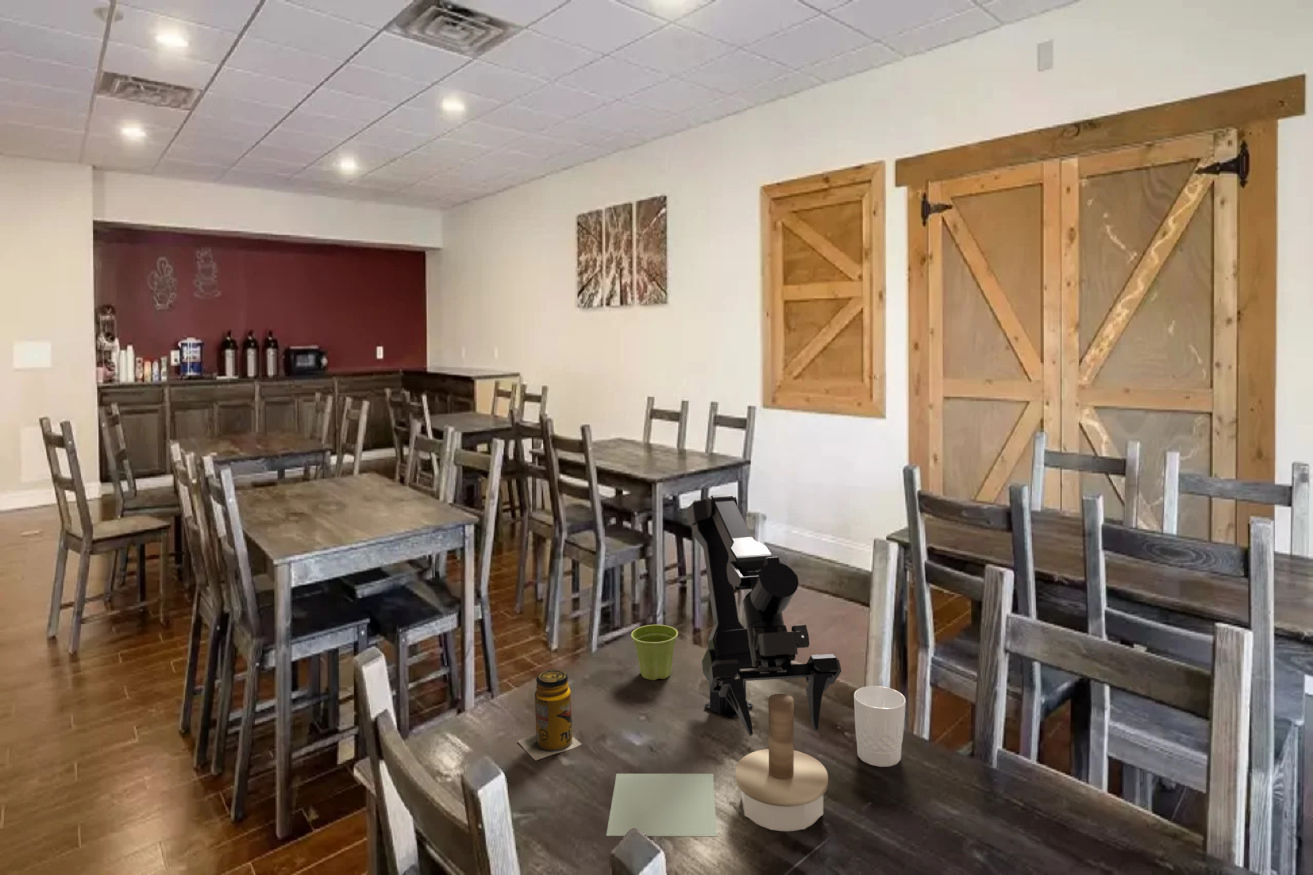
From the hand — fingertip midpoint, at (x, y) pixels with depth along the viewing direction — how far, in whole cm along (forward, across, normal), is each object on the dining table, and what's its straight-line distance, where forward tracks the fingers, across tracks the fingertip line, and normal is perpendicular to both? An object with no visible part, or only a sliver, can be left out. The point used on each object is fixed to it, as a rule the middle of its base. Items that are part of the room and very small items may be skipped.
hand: (783, 732), depth 107 cm
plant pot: (-25, -14, +43) cm, 52 cm away
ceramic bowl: (+8, 0, +10) cm, 12 cm away
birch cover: (+4, 0, +6) cm, 8 cm away
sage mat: (+6, -17, +12) cm, 21 cm away
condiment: (-8, -34, +26) cm, 43 cm away
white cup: (0, +19, +18) cm, 26 cm away
